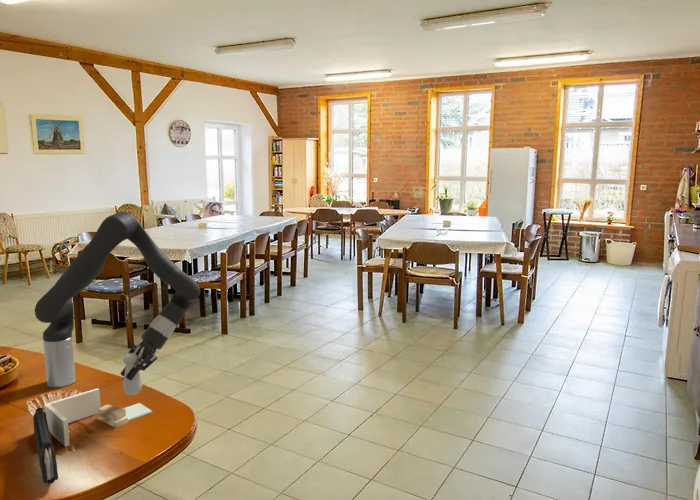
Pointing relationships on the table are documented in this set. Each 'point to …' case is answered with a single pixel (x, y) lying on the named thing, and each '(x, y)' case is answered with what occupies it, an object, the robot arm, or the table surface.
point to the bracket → (70, 412)
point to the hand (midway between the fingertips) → (125, 377)
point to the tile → (136, 411)
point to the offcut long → (113, 421)
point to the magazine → (45, 447)
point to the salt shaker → (135, 384)
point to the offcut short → (111, 412)
